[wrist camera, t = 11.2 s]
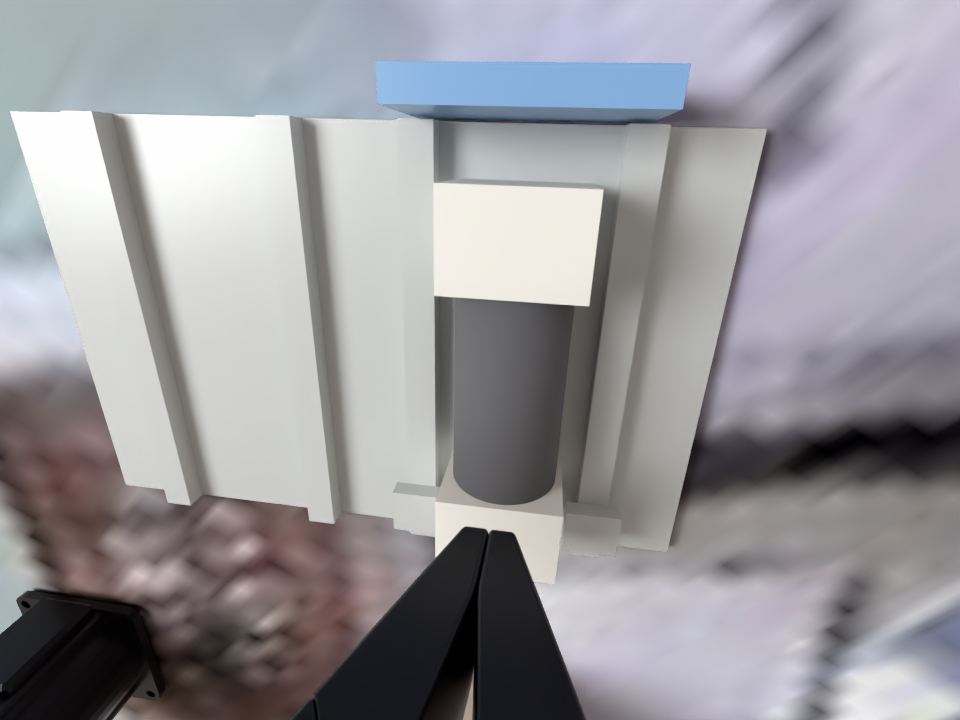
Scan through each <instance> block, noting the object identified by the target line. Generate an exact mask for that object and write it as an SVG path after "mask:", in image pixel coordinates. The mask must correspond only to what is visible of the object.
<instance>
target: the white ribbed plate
mask: <svg viewBox="0 0 960 720" xmlns="http://www.w3.org/2000/svg"><path fill="white" fill-rule="evenodd" d="M690 66H691V64H682V63H555V62H428V61H376V82H377V104H379V105H382V106H385V107H388V108H391V109H394V110H397V111H399V112H402V113H405V114H408V115H411V116H414V117H417V118H443V119H487V120H532V121H577V122H622V123H630V124H628V125H626V126H624V125H580V124H537V123H493V122H450V121H437V120H435V119H411V118H396V120H363V119H319V118H298V117H293V116H277V115H255V117H232V116H189V115H145V114H110V113H101V112H93V111H61V113H58V112H15V111H10V113H11V116H12V119H13V122H14V125H15V129H16V132H17V135H18V138H19V142H20V145H21V148H22V151H23V154H24V158H25V161H26V164H27V167H28V171H29V174H30V177H31V180H32V183H33V187H34V190H35V193H36V196H37V200H38V203H39V206H40V209H41V212H42V216H43V219H44V222H45V225H46V229H47V232H48V235H49V238H50V241H51V245H52V248H53V251H54V254H55V257H56V261H57V264H58V267H59V270H60V274H61V277H62V280H63V283H64V286H65V290H66V293H67V296H68V299H69V303H70V306H71V309H72V312H73V315H74V319H75V322H76V325H77V328H78V332H79V335H80V338H81V341H82V344H83V348H84V351H85V354H86V357H87V360H88V364H89V367H90V370H91V373H92V377H93V380H94V383H95V386H96V389H97V393H98V396H99V399H100V402H101V406H102V409H103V412H104V415H105V418H106V422H107V425H108V428H109V431H110V435H111V438H112V441H113V444H114V447H115V451H116V454H117V457H118V460H119V464H120V467H121V470H122V473H123V476H124V480H125V483H126V485H132V486H140V487H148V488H156V489H164V490H165V494H166V497H167V501H168V503H176V504H183V505H192V504H193V503H194V502H195V501H196V500H197V499H198V498H199V497H200V496H201V495H202V494H204V495H212V496H220V497H228V498H236V499H244V500H252V501H260V502H268V503H276V504H284V505H292V506H300V507H308V514H309V521H316V522H324V523H332V524H334V523H335V521H336V520H337V518H338V517H339V515H340V513H341V512H348V513H356V514H364V515H373V516H381V517H389V518H394V529H400V530H408V531H410V534H418V535H425V536H433V537H435V501H436V498H437V495H438V492H439V489H440V486H441V483H442V481H443V478H444V475H445V472H446V469H447V466H448V463H449V461H450V458H451V455H452V452H453V448H454V363H455V297H442V296H434V231H433V183H435V182H442V181H449V180H455V179H462V178H463V179H490V180H516V181H542V182H568V183H591V184H593V185H595V186H597V187H599V188H601V189H604V191H603V199H602V207H601V215H600V223H599V231H598V239H597V247H596V256H595V264H594V272H593V280H592V288H591V296H590V304H589V306H574V315H573V324H572V333H571V342H570V351H569V360H568V369H567V378H566V387H565V396H564V405H563V414H562V423H561V432H560V441H559V446H561V463H562V496H563V522H562V530H561V538H560V539H562V550H565V551H571V554H574V555H581V556H589V557H597V558H599V556H600V555H604V556H612V557H615V556H616V551H617V546H621V547H629V548H637V549H645V550H653V551H661V552H667V550H668V546H669V542H670V537H671V533H672V529H673V525H674V521H675V516H676V512H677V508H678V504H679V499H680V495H681V491H682V487H683V482H684V478H685V474H686V470H687V466H688V461H689V457H690V453H691V449H692V444H693V440H694V436H695V432H696V427H697V423H698V419H699V415H700V411H701V406H702V402H703V398H704V394H705V389H706V385H707V381H708V377H709V373H710V368H711V364H712V360H713V356H714V351H715V347H716V343H717V339H718V334H719V330H720V326H721V322H722V318H723V313H724V309H725V305H726V301H727V296H728V292H729V288H730V284H731V280H732V275H733V271H734V267H735V263H736V258H737V254H738V250H739V246H740V241H741V237H742V233H743V229H744V225H745V220H746V216H747V212H748V208H749V203H750V199H751V195H752V191H753V187H754V182H755V178H756V174H757V170H758V165H759V161H760V157H761V153H762V148H763V144H764V140H765V136H766V132H767V129H754V128H711V127H671V124H634V123H652V122H655V121H657V120H660V119H662V118H664V117H667V116H669V115H671V114H674V113H676V112H678V111H681V110H683V106H684V100H685V95H686V89H687V83H688V77H689V71H690Z"/></svg>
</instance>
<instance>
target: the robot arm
mask: <svg viewBox="0 0 960 720" xmlns="http://www.w3.org/2000/svg"><path fill="white" fill-rule="evenodd" d="M16 601H17V604H18V606H19V608H20V610H21V613H22V616H21V617H20V618H19V619H18V620H17V621H15V622H14V623H13V624H12V625H11V626H10V627H8V628H7V629H6V630H5V631H4V632H2V633H1V634H0V720H113V718H114V717H115V716H116V715H117V713H118V712H119V711H120V710H121V708H122V707H123V706H124V704H125V703H126V702H127V701H128V699H129V698H130V697H131V696H134V697H139V698H145V699H150V700H158V699H159V698H160V696H161V695H162V694H163V692H164V691H165V687H164V684H163V681H162V678H161V675H160V672H159V669H158V666H157V663H156V660H155V657H154V654H153V652H152V649H151V646H150V643H149V640H148V637H147V634H146V631H145V628H144V625H143V622H142V619H141V616H140V614H139V612H138V611H137V610H136V609H134V608H132V607H129V606H124V605H117V604H111V603H105V602H98V601H92V600H86V599H79V598H73V597H67V596H60V595H54V594H48V593H41V592H35V591H26V592H25V593H23V594H22V595H21V596H20V597H19V598H17V600H16ZM473 672H474V677H473ZM472 678H473V707H472V720H586V718H585V715H584V712H583V710H582V707H581V704H580V702H579V699H578V697H577V694H576V691H575V689H574V686H573V684H572V681H571V678H570V676H569V673H568V671H567V668H566V665H565V663H564V660H563V657H562V655H561V652H560V650H559V647H558V644H557V642H556V639H555V637H554V634H553V631H552V629H551V626H550V624H549V621H548V618H547V616H546V613H545V611H544V608H543V605H542V603H541V600H540V597H539V595H538V592H537V590H536V587H535V584H534V582H533V579H532V577H531V574H530V571H529V569H528V566H527V564H526V561H525V558H524V556H523V553H522V551H521V548H520V545H519V543H518V540H517V538H516V536H515V534H514V533H513V532H507V531H499V530H491V531H490V532H489V533H488V531H487V530H486V529H484V528H476V527H468V526H467V527H463V528H462V529H461V530H460V531H459V532H458V533H457V534H456V536H455V537H454V538H453V539H452V540H451V541H450V542H449V543H448V545H447V546H446V547H445V548H444V549H443V550H442V551H441V552H440V553H439V555H438V556H437V557H436V558H435V559H434V560H433V561H432V562H431V563H430V565H429V566H428V567H427V568H426V569H425V570H424V571H423V572H422V574H421V575H420V576H419V577H418V578H417V579H416V580H415V581H414V582H413V584H412V585H411V586H410V587H409V588H408V589H407V590H406V591H405V592H404V594H403V595H402V596H401V597H400V598H399V599H398V600H397V601H396V603H395V604H394V605H393V606H392V607H391V608H390V609H389V610H388V611H387V613H386V614H385V615H384V616H383V617H382V618H381V619H380V620H379V621H378V623H377V624H376V625H375V626H374V627H373V628H372V629H371V630H370V632H369V633H368V634H367V635H366V636H365V637H364V638H363V639H362V640H361V642H360V643H359V644H358V645H357V646H356V647H355V648H354V649H353V650H352V652H351V653H350V654H349V655H348V656H347V657H346V658H345V659H344V661H343V662H342V663H341V664H340V665H339V666H338V667H337V668H336V669H335V671H334V672H333V673H332V674H331V675H330V676H329V677H328V678H327V679H326V681H325V682H324V683H323V684H322V685H321V686H320V687H319V688H318V690H317V691H316V692H315V693H314V699H312V698H310V699H308V700H307V701H306V702H305V704H304V705H303V706H302V707H301V708H300V709H299V710H298V711H297V713H296V714H295V715H294V716H293V717H292V718H291V719H290V720H463V717H464V713H465V709H466V705H467V701H468V697H469V692H470V688H471V683H472Z"/></svg>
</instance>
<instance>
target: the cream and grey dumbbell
mask: <svg viewBox="0 0 960 720" xmlns="http://www.w3.org/2000/svg"><path fill="white" fill-rule="evenodd" d="M603 191H604V189H601V188H599V187H597V186H595V185H593V184H591V183H568V182H542V181H516V180H490V179H463V178H462V179H455V180H449V181H442V182H435V183H433V231H434V296H442V297H455V363H454V448H453V452H452V455H451V458H450V461H449V463H448V466H447V469H446V472H445V475H444V478H443V481H442V483H441V486H440V489H439V492H438V495H437V498H436V501H435V558H436V557H437V556H438V555H439V553H440V552H441V551H442V550H443V549H444V548H445V547H446V546H447V545H448V543H449V542H450V541H451V540H452V539H453V538H454V537H455V536H456V534H457V533H458V532H459V531H460V530H461V529H462V528H463V527H467V526H468V527H476V528H484V529H486V530H487V531H488V533H489V532H490V531H491V530H499V531H507V532H513V533H514V534H515V536H516V538H517V540H518V543H519V545H520V548H521V551H522V553H523V556H524V558H525V561H526V564H527V566H528V569H529V571H530V574H531V577H532V579H533V582H541V583H548V584H555V579H556V571H557V562H558V554H559V546H560V538H561V530H562V522H563V496H562V463H561V446H559V441H560V432H561V423H562V414H563V405H564V396H565V387H566V378H567V369H568V360H569V351H570V342H571V333H572V324H573V315H574V306H589V304H590V296H591V288H592V280H593V272H594V264H595V256H596V247H597V239H598V231H599V223H600V215H601V207H602V199H603Z"/></svg>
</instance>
